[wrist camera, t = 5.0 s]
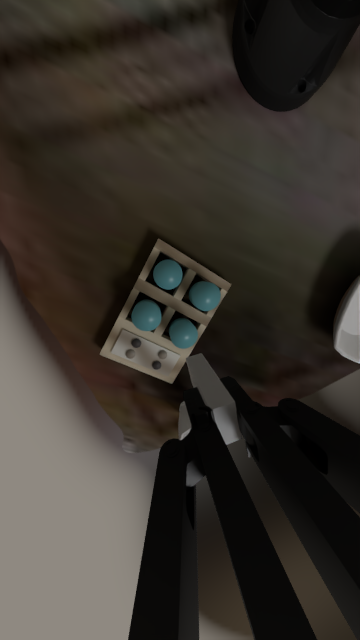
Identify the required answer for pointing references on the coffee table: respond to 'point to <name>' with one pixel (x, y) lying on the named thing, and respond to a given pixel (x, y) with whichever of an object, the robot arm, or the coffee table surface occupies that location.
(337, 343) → the bowl
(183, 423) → the cup
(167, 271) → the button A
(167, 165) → the coffee table surface
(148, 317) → the button
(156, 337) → the board
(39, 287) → the coffee table surface
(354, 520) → the robot arm
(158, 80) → the coffee table surface
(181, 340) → the button
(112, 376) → the coffee table surface
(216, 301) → the button
